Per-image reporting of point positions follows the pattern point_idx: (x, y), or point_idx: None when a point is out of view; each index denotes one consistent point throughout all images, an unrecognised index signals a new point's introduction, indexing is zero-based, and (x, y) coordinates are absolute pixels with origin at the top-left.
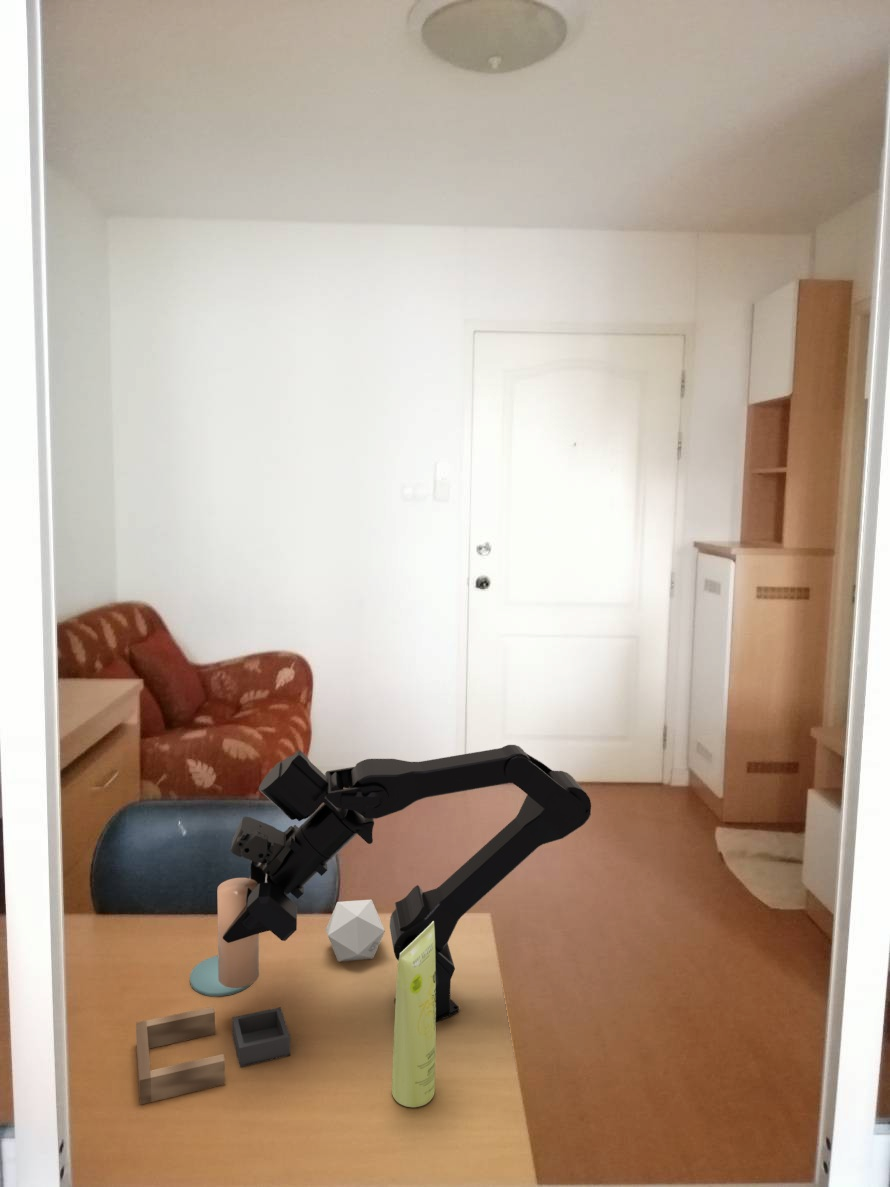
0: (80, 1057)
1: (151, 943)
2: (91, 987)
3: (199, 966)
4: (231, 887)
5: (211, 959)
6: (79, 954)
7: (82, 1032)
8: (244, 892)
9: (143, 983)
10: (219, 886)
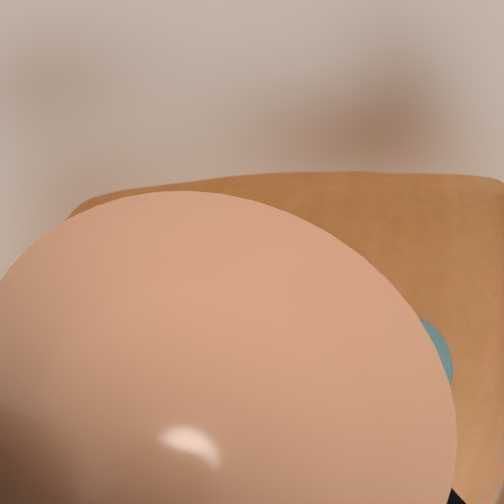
0: (252, 176)
1: (487, 258)
2: (398, 185)
3: (428, 330)
4: (155, 387)
5: (443, 350)
6: (459, 177)
7: (303, 176)
8: (9, 473)
9: (403, 246)
10: (261, 218)
